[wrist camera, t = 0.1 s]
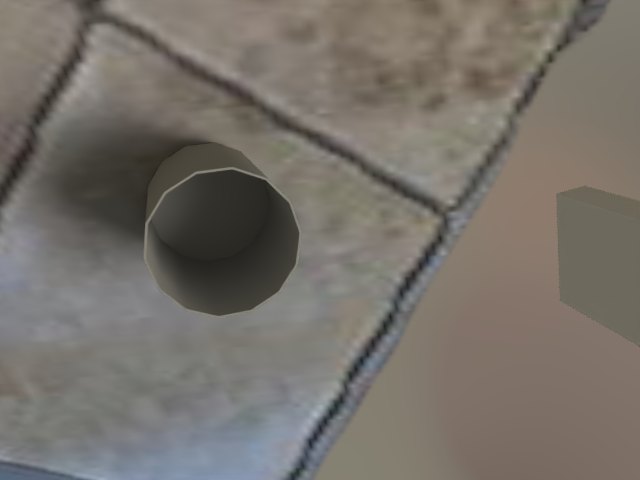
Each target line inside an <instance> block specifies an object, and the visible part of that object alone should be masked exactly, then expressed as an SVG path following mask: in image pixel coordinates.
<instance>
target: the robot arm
mask: <svg viewBox="0 0 640 480" xmlns="http://www.w3.org/2000/svg"><path fill="white" fill-rule="evenodd" d="M556 197H557V227H558V257H559V288H560V301H562V302H563V303H565V304H567V305H568V306H570V307H572V308H574V309H576V310H577V311H579V312H580V313H582V314H584V315H586V316H587V317H589V318H591V319H593V320H594V321H596V322H598V323H599V324H601V325H603V326H605V327H607V328H608V329H610V330H612V331H613V332H615V333H617V334H618V335H620V336H622V337H624V338H625V339H627V340H629V341H631V342H632V343H634V344H636V345H637V346H639V347H640V201H638V200H634V199H631V198H627V197H624V196H620V195H616V194H612V193H609V192H605V191H602V190H598V189H595V188H591V187H587V186H582V187H579V188H575V189H572V190H568V191H564V192H561V193H557V194H556Z"/></svg>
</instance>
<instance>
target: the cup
mask: <svg viewBox="0 0 640 480" xmlns="http://www.w3.org/2000/svg"><path fill="white" fill-rule="evenodd" d="M301 236H302V232H301V229H300V226H299V223H298V220H297V217H296V214H295V211H294V208H293V205H292V202H291V201H290V200H289V199H288V198H287V197H286V196H285V195H284V194H283V193H282V192H281V191H280V190H279V189H278V188H277V187H276V186H275V185H274V184H273V183H272V182H271V181H270V180H269V179H268V178H267V177H266V176H265V175H264V174H263V173H262V172H261V171H260V170H259V169H258V168H257V167H256V166H255V165H254V164H253V163H252V162H251V161H250V160H249V159H248V158H247V157H246V156H245V155H244V154H243V153H242V152H241V151H238V150H235V149H232V148H229V147H226V146H223V145H220V144H217V143H207V144H198V145H190V146H185V147H184V148H182V149H181V150H179V151H178V152H176V153H174V154H173V155H171V156H170V157H168V158H167V159H165V160H163V161H162V163H161V164H160V166H159V168H158V170H157V171H156V173H155V175H154V176H153V178H152V180H151V181H150V183H149V185H148V196H147V209H146V222H145V239H144V257H143V259H144V261H145V263H146V265H147V267H148V270H149V272H150V274H151V276H152V278H153V280H154V282H155V284H156V287H157V289H158V290H159V291H160V292H161V293H163V294H164V295H165V296H167V297H168V298H169V299H171V300H172V301H173V302H174V303H176V304H177V305H178V306H180V307H181V308H182V309H183V310H185V311H189V312H193V313H198V314H202V315H206V316H211V317H215V318H222V317H227V316H232V315H237V314H243V313H248V312H252V311H254V310H255V309H257V308H258V307H260V306H261V305H263V304H264V303H266V302H267V301H269V300H270V299H272V298H273V297H275V296H276V295H278V294H279V293H280V292H281V290H282V289H283V287H284V286H285V284H286V283H287V281H288V279H289V278H290V276H291V275H292V273H293V272H294V270H295V268H296V267H297V265H298V259H299V251H300V243H301Z"/></svg>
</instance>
